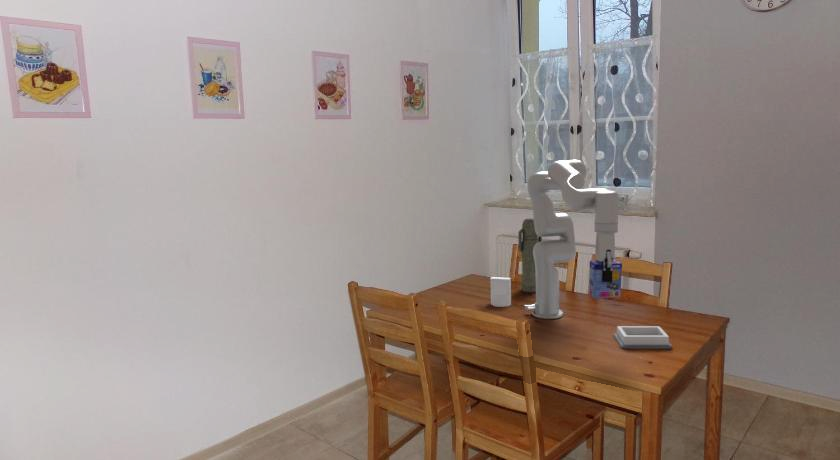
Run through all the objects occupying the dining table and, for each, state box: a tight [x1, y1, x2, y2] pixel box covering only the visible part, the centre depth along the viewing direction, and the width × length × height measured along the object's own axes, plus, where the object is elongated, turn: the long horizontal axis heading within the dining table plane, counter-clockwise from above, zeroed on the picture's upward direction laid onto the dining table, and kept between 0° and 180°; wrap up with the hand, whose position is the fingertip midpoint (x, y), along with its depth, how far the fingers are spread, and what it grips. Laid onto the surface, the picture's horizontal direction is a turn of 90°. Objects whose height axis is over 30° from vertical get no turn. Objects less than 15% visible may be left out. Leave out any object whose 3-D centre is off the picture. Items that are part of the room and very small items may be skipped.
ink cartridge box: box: [588, 259, 623, 299], centre depth 195 cm, size 10×6×14 cm, turn 94°
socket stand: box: [613, 325, 673, 350], centre depth 204 cm, size 17×13×4 cm
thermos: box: [517, 218, 543, 293], centre depth 275 cm, size 9×12×35 cm
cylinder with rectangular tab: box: [489, 276, 512, 308], centre depth 256 cm, size 9×9×12 cm
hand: (605, 278), depth 195 cm, fingers closed on ink cartridge box, 5 cm apart
